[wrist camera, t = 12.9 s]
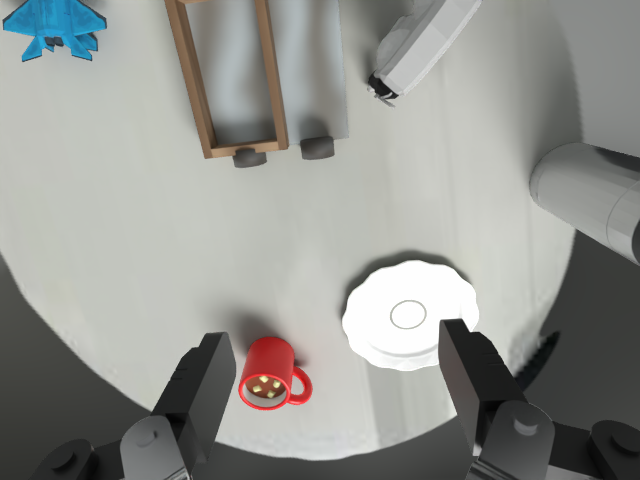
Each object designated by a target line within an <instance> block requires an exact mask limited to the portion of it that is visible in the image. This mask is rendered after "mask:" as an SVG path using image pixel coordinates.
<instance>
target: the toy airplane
mask: <svg viewBox="0 0 640 480" xmlns="http://www.w3.org/2000/svg"><path fill="white" fill-rule="evenodd" d="M103 29H107V23H106V18H105V17H103V16H102V15H100V14H99V13H97V12H96V11H94V10H93V9H91V8H90V7H88V6H87V5H85V4H84V3H82V2H80V1H79V0H27V1H26V2H25V3H23V4H22V5H21V6H20V7H18V8H17V9H16V10H15V11H13V12H12V13H11V14H9V15H8V16H7V17H6V18H4V19H3V30H6V31H11V32H16V33H21V34H25V35H30V36H35V38H34V39H33V41H32V42H31V44H30V45H29V47H28V48H27V49H26V51H25V52H24V54H23V55H22V62H25V61H28V60H31V59H34V58H37V57H40V56H42V49H44V48H46V49H48V50H50V51H52V52H54V46H55V44H56V45H57V46H61V47H62V46H64V44H65V45H66V46H68V47H69V48H71V54H72V56H75V57H79V58H83V59H86V60H90V61H92V55H91V54H90V53H89V52H88V51H87V50H93V51H98V45H97V39H96V38H95V37H93V36H92V35H91V34H89V33H91V32H95V31H99V30H103Z"/></svg>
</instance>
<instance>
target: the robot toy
mask: <svg viewBox="0 0 640 480" xmlns="http://www.w3.org/2000/svg"><path fill="white" fill-rule="evenodd" d="M481 2H482V0H414V4H413V14H414V15H409V16H402V17H400V18H399V19H398V21H397V22H396V23H395V25H394V26H393V27H392V29H391V30H390V32H389V33H388V34H387V36H386V37H385V38H384V39H383V40H382V41H381V43H380V45H379V47H378V50H377V57H376V61H377V65H378V68H377V69H376V70H375V71H374V72H373V73H372V75H371V76H370V77H369V81H368V83H369V86H368V88H367V90H368V92H373V91H374V90H375V93H376V95H375V96H374V97H375V98H376V99H377V100H378V101H380V102H381V101H382V102H384V103H385V104H387V105H388V106H389V107H390V108H392V109H394V108H395V106H394V105H393V104H392V103H389V102H387V101H386V100H384V99H395V98H396V97H397V96H399V95H402V96H405V95H406V94H407V93H408V92H409V91H410V90H411V89H413V88H414V87H415V86H416V85H417V84H418V83H419V81H420V80H421V79H422V78H423V77H424V76H425V75H426V74H427V72H428V71H429V70H430V69H431V68H432V67H433V66H434V64H435V63H436V62H437V61H438V60H439V58H440V57H441V56H442V55H443V54H444V53H445V51H446V50H447V49H448V48H449V47H450V45H451V44H452V43H453V41H454V40H455V39H456V37H457V36H458V35H459V33H460V32H461V31H462V30H463V28H464V27H465V26H466V24H467V23H468V22H469V20H470V19H471V17H472V16H473V14H474V13H475V12H476V10H477V9H478V7H479V6H480V4H481Z"/></svg>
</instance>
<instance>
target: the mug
mask: <svg viewBox="0 0 640 480" xmlns="http://www.w3.org/2000/svg"><path fill="white" fill-rule="evenodd" d="M294 357H295V356H294V351H293V349H292V347H291V346H290V345H289V344H288V343H287V342H286V341H284V340H282V339H280V338H276V337H264V338H261V339H258V340H256V341H255V342H254V343H253V344H252V345H251V346H250V348H249V351H248V355H247V359H246V362H245V366H244V369H243V373H242V376H241V380H240V384H239V389H238V391H239V395H240V398H241V399H242V400H243V401H244V402H245V403H246V404H247V405H249V406H250V407H252V408H255V409H258V410H274V409H278V408H280V407H282V406H283V405H284V404H286V403H290V404H293V405H300V404H303V403H305V402H307V401H308V400H309V399H310V397H311V395H312V383H311V381H310V379H309V377H308V376H307V374H306V373H305V372H304V371H303V370H301V369H300V368H298V367H296V366H294ZM292 375H294V376H296V377H297V378H299V379H300V381H301V382H302V384H303V387H304V391H303V393H302V394H300V395H294V394H291V385H292Z"/></svg>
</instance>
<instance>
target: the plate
mask: <svg viewBox="0 0 640 480" xmlns="http://www.w3.org/2000/svg"><path fill="white" fill-rule="evenodd" d="M408 299H411V300H417V301H419V302H421V303H422V304H423V305H424V306H425V307H426V309H427V317H426V319H425V321H424V322H423V323H422V324H421V325H420V326H418V327H417V328H414V329H410V330H402V329H399V328H397V327H395V326H394V325H393V324H392V323H391V321H390V317H389V315H390V311H391V309H392V308H393V307H394V305H395V304H397V303H398V302H400V301H403V300H408ZM423 318H424V310H423V308H422V306H421V305H419V304H418V303H415V302H404V303H402V304H400V305H398V306H397V307H396V308H395V309H394V311H393V313H392V319H393V321H394V323H395V324H396V325H398V326H400V327H403V328H410V327H414V326H416V325H418V324H419V323H420V322H421V321H422V320H423ZM457 318H462V319H463V320H464V322H465V324H466V326H467V328H468V329H469V331H470V332H472V330H473V328H474V327H475V325H476V324H477V322H478V318H479V310H478V308H477V305H476V292H475V290H474V289H473V287H472V285H471V284H470V283H468V282H467V281H465V280H464V279H462V278H461V277H460V276H459V275H458V274H457V272H456V271H455V270H454V269H453V268H450V267H448V266H446V265H442V264H430V263H427V262H424V261H420V260H409V261H405V262H402V263H400V264H398V265H395V266H390V267H384V268H380V269H378V270H376V271H375V272H373V273H371V274H370V275H369V277H368V278H367V279H366V280H365V281H364V283H362V284H361V285H359V286H358V287H357V288H355V289H354V290H353V291H352V292H351V294H350V296H349V297H348V301H347V309H346V311H345V313H344V316H343V318H342V325H343V329H344V331H345V333H346V334H347V336H348V340H349V345H350V347H351V348H352V349H353V350H354V352H355V353H357V354H359V355H361V356H363V357H365V358H366V359H367V360H368V361H369V362H370V363H371V364H373V365H375V366H378V367H382V368H394V369H397V370H401V371H412V370H415V369H418V368H421V367H425V366H432V365H436V364H439V359H438V340H439V322H440V320H441V319H457Z"/></svg>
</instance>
